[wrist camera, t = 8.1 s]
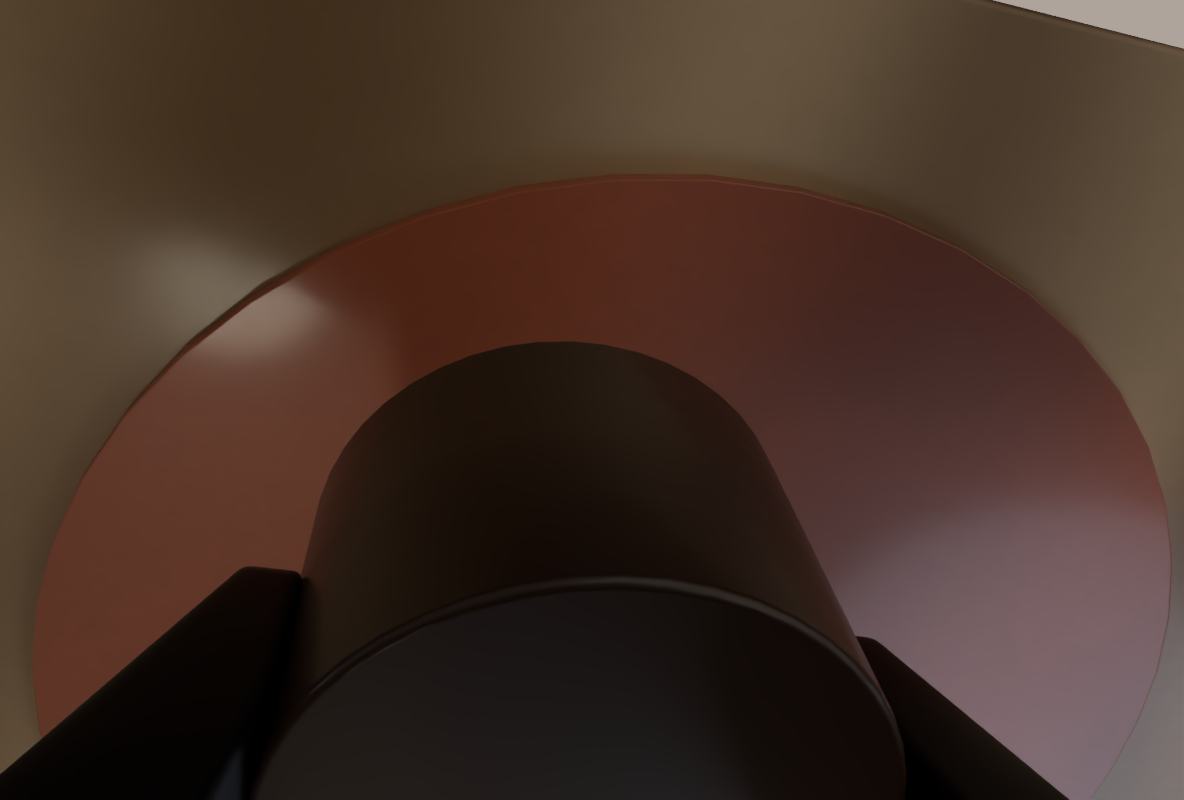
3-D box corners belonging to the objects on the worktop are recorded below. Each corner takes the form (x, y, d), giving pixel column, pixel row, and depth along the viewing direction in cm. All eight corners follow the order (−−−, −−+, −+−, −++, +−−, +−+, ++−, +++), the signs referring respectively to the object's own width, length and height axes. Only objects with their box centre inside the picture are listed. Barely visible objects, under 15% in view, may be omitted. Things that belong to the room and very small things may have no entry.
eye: (842, 381, 8) (1015, 626, 6) (709, 737, 10) (793, 1051, 7) (343, 298, 7) (271, 536, 5) (292, 699, 9) (219, 1034, 7)
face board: (1592, 152, 11) (1667, 172, 10) (967, 1083, 19) (986, 1130, 18) (-234, -311, 8) (-304, -329, 7) (-76, 1058, 16) (-103, 1114, 15)
